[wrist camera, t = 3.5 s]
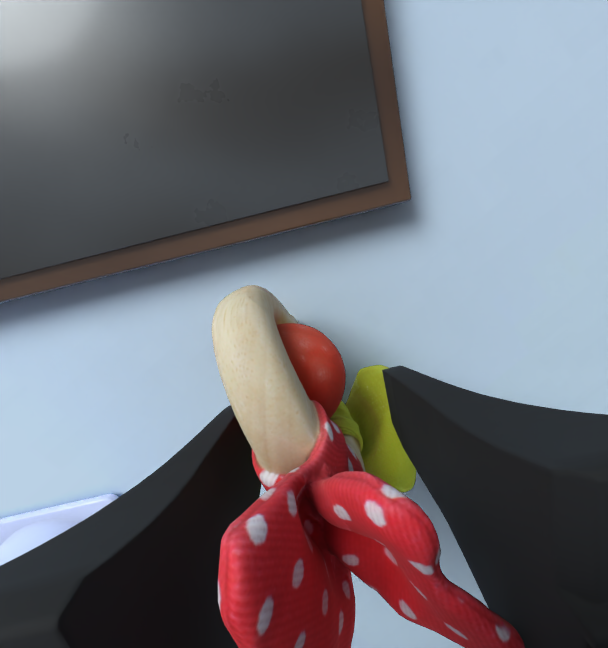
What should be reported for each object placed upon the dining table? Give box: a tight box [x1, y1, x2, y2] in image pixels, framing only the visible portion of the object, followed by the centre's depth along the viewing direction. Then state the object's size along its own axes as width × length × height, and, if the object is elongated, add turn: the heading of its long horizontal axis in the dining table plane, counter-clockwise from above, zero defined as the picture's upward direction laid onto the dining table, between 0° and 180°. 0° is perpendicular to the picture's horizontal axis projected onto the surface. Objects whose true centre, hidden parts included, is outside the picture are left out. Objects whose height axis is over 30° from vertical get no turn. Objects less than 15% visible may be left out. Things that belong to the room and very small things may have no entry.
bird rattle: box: [212, 285, 525, 648], centre depth 9 cm, size 6×11×9 cm
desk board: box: [0, 0, 411, 303], centre depth 11 cm, size 12×20×1 cm, turn 104°
